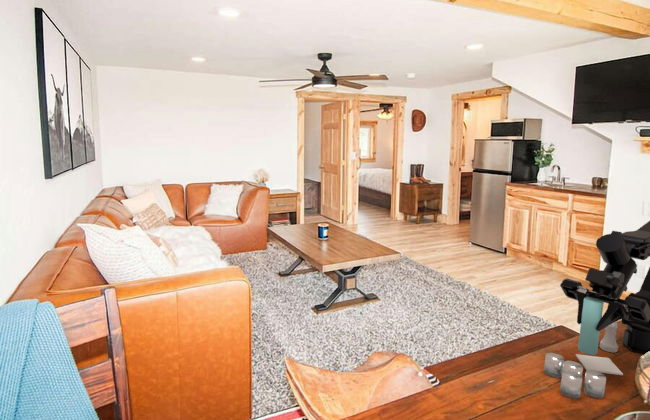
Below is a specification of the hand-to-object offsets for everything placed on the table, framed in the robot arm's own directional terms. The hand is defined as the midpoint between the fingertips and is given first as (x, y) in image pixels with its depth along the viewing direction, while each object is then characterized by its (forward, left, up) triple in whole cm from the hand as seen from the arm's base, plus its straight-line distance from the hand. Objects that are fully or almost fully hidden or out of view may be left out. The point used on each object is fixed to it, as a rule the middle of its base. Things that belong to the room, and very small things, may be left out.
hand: (587, 326), depth 98 cm
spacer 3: (0, +7, -13) cm, 15 cm away
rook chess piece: (-13, -18, -13) cm, 26 cm away
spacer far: (+5, +8, -13) cm, 16 cm away
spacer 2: (+3, +3, -13) cm, 14 cm away
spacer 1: (+6, 0, -13) cm, 15 cm away
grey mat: (-7, -7, -13) cm, 16 cm away
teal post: (-1, -1, -7) cm, 7 cm away
